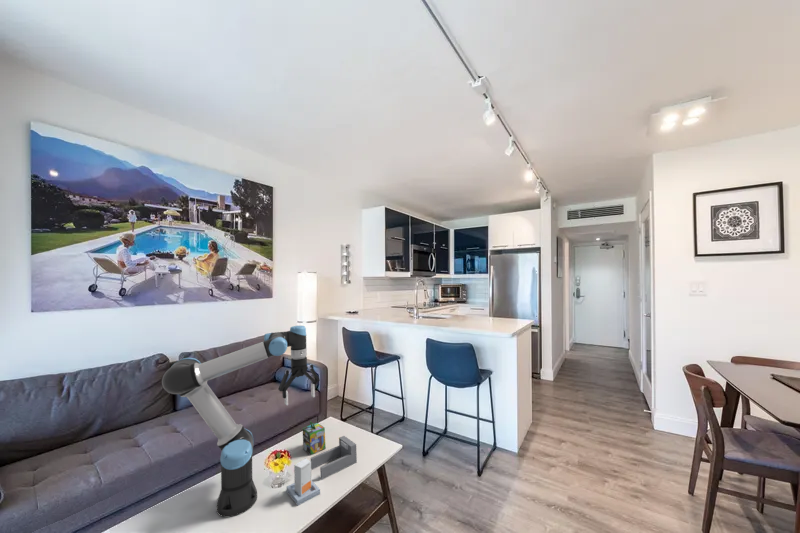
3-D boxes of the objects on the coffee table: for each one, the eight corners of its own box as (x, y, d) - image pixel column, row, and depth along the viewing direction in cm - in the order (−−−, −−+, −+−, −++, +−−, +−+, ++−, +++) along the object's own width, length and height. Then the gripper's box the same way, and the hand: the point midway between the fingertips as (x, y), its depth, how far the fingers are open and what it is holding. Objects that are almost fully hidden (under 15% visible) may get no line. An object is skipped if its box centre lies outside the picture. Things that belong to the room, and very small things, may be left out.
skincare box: (301, 496, 132) (300, 468, 132) (294, 493, 134) (293, 465, 135) (312, 488, 137) (311, 460, 137) (305, 485, 139) (304, 457, 140)
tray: (297, 505, 128) (297, 500, 128) (286, 490, 137) (286, 486, 137) (320, 493, 134) (319, 489, 134) (308, 480, 143) (308, 476, 143)
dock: (322, 479, 144) (321, 459, 144) (310, 468, 153) (310, 449, 153) (356, 462, 156) (356, 444, 156) (344, 452, 165) (344, 435, 165)
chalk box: (325, 448, 169) (325, 421, 170) (310, 455, 163) (309, 427, 164) (318, 442, 176) (317, 416, 177) (302, 448, 170) (301, 421, 171)
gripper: (275, 364, 144) (277, 410, 143) (325, 353, 160) (326, 395, 160) (270, 361, 150) (271, 405, 149) (318, 351, 166) (320, 391, 165)
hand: (300, 400), depth 154 cm, fingers open, 13 cm apart
